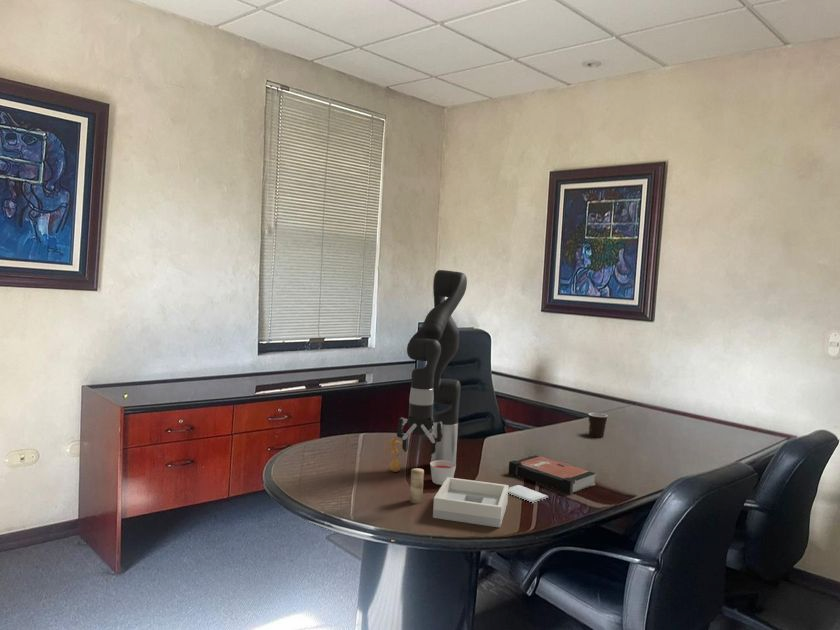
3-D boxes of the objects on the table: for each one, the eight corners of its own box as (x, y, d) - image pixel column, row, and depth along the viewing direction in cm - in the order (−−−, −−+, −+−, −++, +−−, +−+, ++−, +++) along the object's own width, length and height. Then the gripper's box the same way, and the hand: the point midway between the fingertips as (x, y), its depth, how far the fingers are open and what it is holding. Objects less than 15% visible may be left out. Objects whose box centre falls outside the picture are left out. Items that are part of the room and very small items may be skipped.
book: (596, 485, 224) (597, 471, 224) (569, 495, 212) (570, 481, 212) (536, 466, 243) (537, 453, 242) (508, 475, 231) (509, 461, 230)
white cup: (456, 479, 221) (457, 461, 221) (452, 487, 213) (453, 469, 212) (431, 476, 223) (432, 459, 223) (426, 484, 214) (427, 466, 214)
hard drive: (503, 489, 211) (532, 500, 202) (519, 484, 216) (548, 495, 207) (503, 493, 211) (532, 505, 202) (518, 489, 216) (548, 499, 207)
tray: (446, 495, 205) (447, 477, 205) (507, 503, 201) (508, 485, 200) (432, 517, 186) (433, 497, 186) (500, 527, 181) (501, 507, 181)
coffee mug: (602, 439, 287) (604, 418, 286) (584, 436, 291) (585, 414, 291) (610, 434, 296) (611, 413, 296) (592, 431, 301) (593, 410, 300)
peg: (411, 498, 201) (413, 467, 200) (423, 499, 200) (425, 469, 199) (408, 502, 197) (409, 471, 196) (420, 504, 196) (422, 473, 195)
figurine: (386, 474, 223) (388, 441, 222) (380, 469, 228) (381, 437, 227) (407, 472, 227) (409, 439, 226) (400, 467, 232) (402, 435, 231)
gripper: (446, 401, 198) (443, 452, 199) (402, 397, 202) (400, 447, 203) (441, 406, 191) (438, 458, 192) (396, 401, 194) (393, 453, 195)
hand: (418, 452), depth 197 cm, fingers open, 8 cm apart
